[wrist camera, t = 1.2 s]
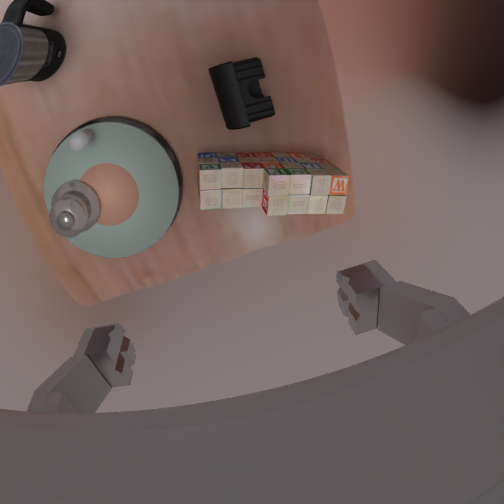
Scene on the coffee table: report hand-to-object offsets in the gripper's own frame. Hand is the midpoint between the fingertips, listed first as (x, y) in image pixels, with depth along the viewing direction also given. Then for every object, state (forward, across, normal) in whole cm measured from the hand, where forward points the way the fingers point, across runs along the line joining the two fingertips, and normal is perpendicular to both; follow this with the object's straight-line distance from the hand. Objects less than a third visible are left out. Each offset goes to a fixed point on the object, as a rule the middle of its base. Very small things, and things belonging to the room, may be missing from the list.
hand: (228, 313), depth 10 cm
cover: (+37, +24, +1) cm, 45 cm away
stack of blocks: (+43, -7, +5) cm, 44 cm away
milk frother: (+37, +26, -29) cm, 54 cm away
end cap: (+41, -6, -9) cm, 42 cm away
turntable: (+39, +19, +1) cm, 43 cm away
